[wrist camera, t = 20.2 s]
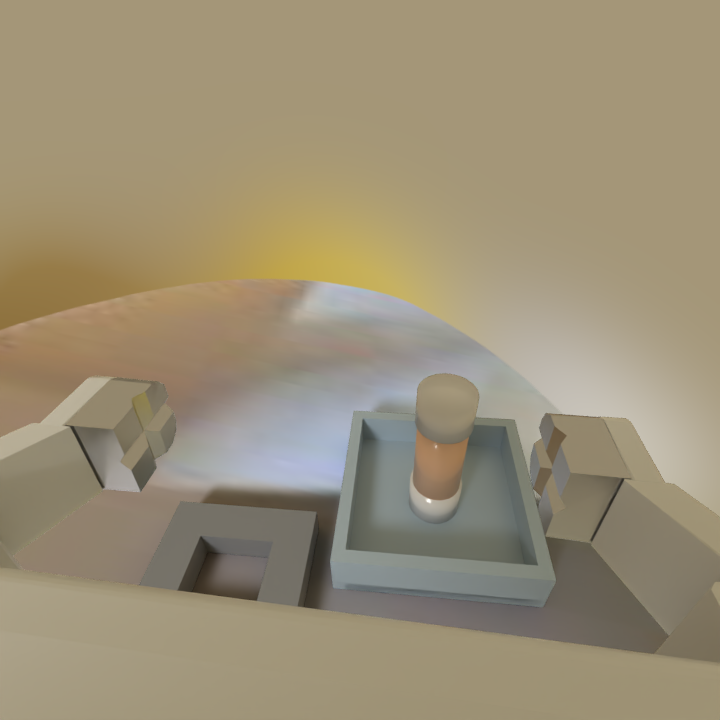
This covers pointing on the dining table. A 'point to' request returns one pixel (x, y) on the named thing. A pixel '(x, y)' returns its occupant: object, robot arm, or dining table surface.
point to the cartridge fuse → (441, 445)
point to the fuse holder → (238, 547)
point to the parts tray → (444, 540)
